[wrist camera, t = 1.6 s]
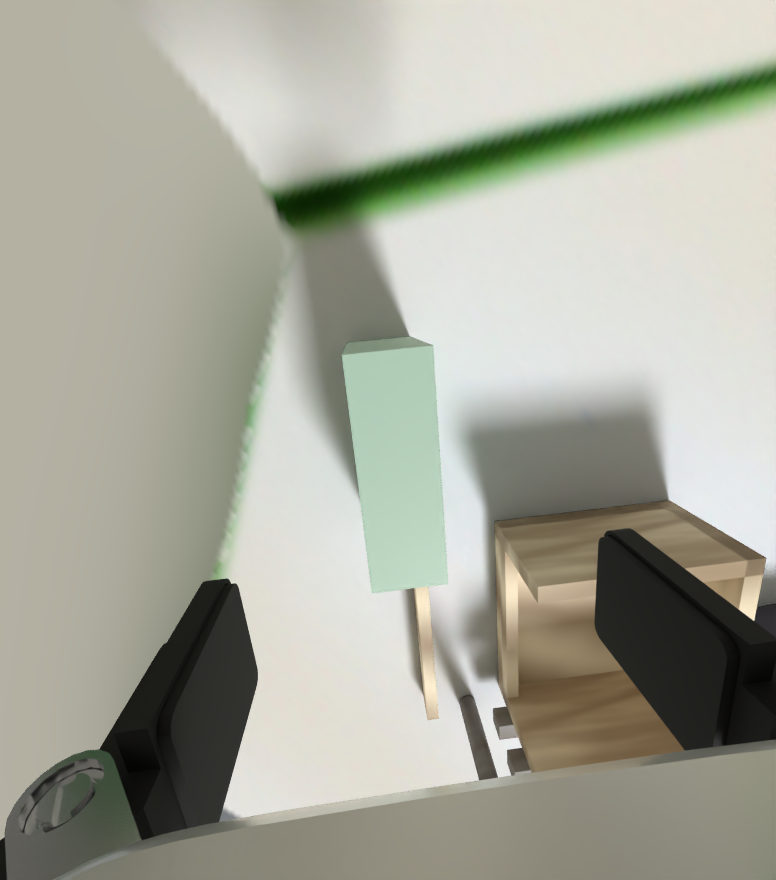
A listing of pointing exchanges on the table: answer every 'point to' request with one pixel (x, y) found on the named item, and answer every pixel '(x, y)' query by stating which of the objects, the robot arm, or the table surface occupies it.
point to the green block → (397, 460)
